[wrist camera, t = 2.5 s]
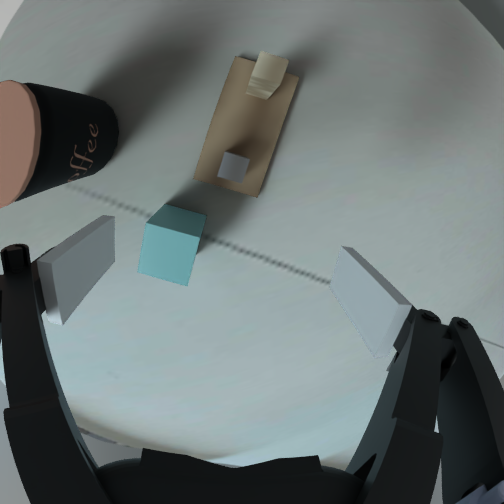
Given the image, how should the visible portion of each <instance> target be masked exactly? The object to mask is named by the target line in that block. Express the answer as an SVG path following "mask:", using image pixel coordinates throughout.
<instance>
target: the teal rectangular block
mask: <svg viewBox="0 0 504 504" xmlns="http://www.w3.org/2000/svg"><path fill="white" fill-rule="evenodd" d="M206 217H207V215H203V214H200V213H196V212H192V211H189V210H185V209H182V208H178V207H174V206H171V205H167V204H164V205H163V206H162V207H161V208H160V209H159V210H158V211H157V212H156V213H155V214H154V215H153V216H152V217H151V218H150V219H149V220H148V221H147V222H146V226H145V231H144V236H143V242H142V247H141V253H140V259H139V265H138V272H139V273H142V274H145V275H149V276H152V277H156V278H159V279H163V280H166V281H170V282H173V283H177V284H181V285H184V286H188V282H189V278H190V275H191V271H192V267H193V264H194V260H195V256H196V253H197V249H198V245H199V242H200V238H201V234H202V231H203V227H204V224H205V220H206Z"/></svg>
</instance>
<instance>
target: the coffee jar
mask: <svg viewBox="0 0 504 504" xmlns="http://www.w3.org/2000/svg"><path fill="white" fill-rule="evenodd" d="M118 134H119V131H118V122H117V118H116V116H115V114H114V112H113V109H112V108H111V107H110V106H109V105H108V104H107V103H106V102H105V101H103V100H100V99H97V98H95V97H91V96H87V95H84V94H80V93H76V92H71V91H67V90H63V89H58V88H54V87H49V86H44V85H39V84H34V83H23V84H22V83H19V82H16V81H13V80H7V81H3V82H0V208H2V207H4V206H7V205H9V204H11V203H13V202H16V201H19V200H21V199H24V198H27V197H29V196H32V195H34V194H37V193H40V192H42V191H45V190H48V189H50V188H53V187H56V186H59V185H62V184H65V183H68V182H71V181H74V180H77V179H80V178H83V177H87V176H90V175H93V174H95V173H96V172H98V171H99V170H101V169H102V168H104V166H105V165H106V164H107V162H108V161H109V160H110V159H111V157H112V155H113V153H114V150H115V148H116V146H117V140H118Z"/></svg>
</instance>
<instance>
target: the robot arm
mask: <svg viewBox="0 0 504 504" xmlns="http://www.w3.org/2000/svg"><path fill="white" fill-rule="evenodd" d="M0 254H1V260H2V265H3V271H4V275H0V343H1V339H2V351H3V364H4V373H5V381H6V388H7V395H8V400H9V407H10V408H6V409H4V421H5V426H6V430H7V434H8V439H9V442H10V446H11V450H12V453H13V457H14V460H15V463H16V466H17V469H18V472H19V475H20V478H21V481H22V483H23V486H24V489H25V491H26V494H27V496H28V498H29V501H30V503H31V504H430V502H431V498H432V495H433V491H434V487H435V483H436V479H437V474H438V469H439V465H440V459H441V468H442V497H443V498H442V499H443V504H504V390H503V388H502V385H501V383H500V381H499V378H498V376H497V374H496V372H495V369H494V367H493V365H492V363H491V361H490V359H489V357H488V355H487V353H486V351H485V349H484V347H483V345H482V343H481V341H480V339H479V337H478V335H477V333H476V332H475V330H474V328H473V326H472V325H471V324H470V323H469V322H468V321H467V320H466V319H464V318H459V317H453V318H452V320H451V322H450V324H449V326H447V325H443V324H441V320H440V319H439V317H438V316H437V315H435V314H434V313H433V312H431V311H427V310H423V309H419V310H417V309H416V308H415V307H414V306H413V305H412V304H411V303H410V302H409V301H408V300H407V299H406V298H405V297H404V296H403V295H402V294H401V293H400V292H399V291H398V290H397V289H396V288H395V287H394V286H393V285H392V284H391V283H390V282H389V281H388V280H387V279H386V278H384V277H383V276H382V275H381V274H380V273H379V272H378V271H377V270H376V269H375V268H374V267H373V266H372V265H371V264H370V263H369V262H367V261H366V260H365V259H364V258H363V257H362V256H361V255H360V254H359V253H358V252H357V251H355V250H354V249H353V248H350V247H344V246H341V249H340V253H339V256H338V260H337V263H336V267H335V270H334V274H333V277H332V280H331V284H330V287H329V288H330V289H331V291H332V292H333V294H334V295H335V297H336V298H337V300H338V301H339V303H340V305H341V306H342V308H343V309H344V311H345V312H346V314H347V315H348V317H349V318H350V320H351V322H352V323H353V325H354V326H355V328H356V329H357V331H358V333H359V334H360V336H361V337H362V339H363V341H364V342H365V344H366V346H367V347H368V349H369V350H370V352H371V354H372V355H373V357H374V358H379V357H388V355H389V353H390V351H391V349H392V347H393V346H394V348H395V349H396V350H397V352H396V354H395V356H394V358H393V360H392V361H391V363H390V365H389V367H388V368H387V370H386V371H389V373H388V376H387V379H386V381H385V384H384V387H383V390H382V392H381V395H380V398H379V400H378V403H377V405H376V408H375V410H374V413H373V415H372V417H371V420H370V422H369V424H368V427H367V429H366V431H365V433H364V435H363V437H362V440H361V442H360V444H359V446H358V448H357V450H356V452H355V454H354V456H353V458H352V460H351V462H350V463H349V465H348V467H347V468H346V470H345V471H343V470H340V469H336V468H333V467H327V466H321V464H320V460H319V457H318V455H315V456H306V457H294V458H278V459H274V460H270V461H266V462H262V463H258V464H254V465H249V466H244V467H239V468H229V467H225V466H221V465H218V464H214V463H211V462H207V461H204V460H201V459H197V458H194V457H191V456H188V455H182V454H175V453H168V452H162V451H156V450H151V449H146V448H143V451H142V456H141V458H134V459H124V460H119V461H115V462H112V463H109V464H106V465H104V466H101V467H98V465H97V464H96V462H95V461H94V459H93V457H92V455H91V453H90V451H89V450H88V448H87V446H86V444H85V442H84V440H83V438H82V436H81V433H80V431H79V429H78V427H77V425H76V422H75V420H74V418H73V416H72V413H71V411H70V408H69V406H68V403H67V401H66V398H65V396H64V393H63V390H62V387H61V384H60V382H59V379H58V376H57V373H56V369H55V366H54V363H53V360H52V356H51V353H50V349H49V345H48V341H47V337H46V333H45V329H44V325H43V320H42V316H41V314H42V313H43V312H44V311H45V310H46V313H47V317H48V321H49V322H52V323H55V324H59V325H62V326H63V325H64V323H65V322H66V321H67V319H68V318H69V317H70V315H71V314H72V313H73V311H74V310H75V309H76V308H77V306H78V305H79V304H80V302H81V301H82V300H83V299H84V297H85V296H86V295H87V294H88V293H89V291H90V290H91V289H92V288H93V286H94V285H95V284H96V283H97V282H98V280H99V279H100V278H101V277H102V276H103V275H104V273H105V272H106V271H107V270H108V269H109V268H110V266H111V265H112V264H113V263H114V262H115V216H107V215H102V216H101V217H99V218H98V219H96V220H95V221H93V222H91V223H90V224H88V225H87V226H85V227H84V228H82V229H81V230H79V231H78V232H76V233H75V234H73V235H72V236H70V237H69V238H67V239H66V240H64V241H63V242H62V243H60V244H59V245H57V246H56V247H53V248H51V249H49V250H48V251H47V252H45V253H44V254H42V255H41V257H38V258H37V259H36V260H34V261H33V262H32V263H31V261H30V254H29V247H28V246H27V245H25V244H13V245H9V246H7V247H5V248H4V249H2V250H1V252H0ZM436 416H437V421H438V429H439V433H437V432H434V429H435V423H436Z"/></svg>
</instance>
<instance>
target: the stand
mask: <svg viewBox="0 0 504 504" xmlns="http://www.w3.org/2000/svg"><path fill="white" fill-rule="evenodd" d="M288 62H289V60H287V59H284V58H281V57H278V56H275V55H272V54H269V53H266V52H263V51H261V52H260V54H259V57H258V59H257V62H254V61H250V60H247V59H244V58H240V57H236V56H235V58H234V61H233V63H232V66H231V68H230V71H229V73H228V76H227V79H226V81H225V84H224V87H223V89H222V92H221V95H220V98H219V100H218V103H217V106H216V109H215V112H214V115H213V118H212V121H211V124H210V127H209V130H208V133H207V136H206V139H205V142H204V145H203V148H202V151H201V155H200V158H199V161H198V165H197V168H196V171H195V175H194V178H193V179H195V180H198V181H202V182H206V183H209V184H213V185H216V186H220V187H223V188H227V189H230V190H233V191H237V192H240V193H243V194H247V195H250V196H253V197H256V198H257V197H258V194H259V191H260V188H261V185H262V183H263V180H264V177H265V174H266V171H267V168H268V165H269V162H270V159H271V156H272V154H273V151H274V148H275V145H276V142H277V139H278V136H279V133H280V131H281V128H282V125H283V122H284V119H285V116H286V114H287V111H288V108H289V105H290V102H291V99H292V97H293V94H294V91H295V88H296V85H297V83H298V80H299V77H297V76H295V75H292V74H290V73H287V72H285V70H286V68H287V65H288Z"/></svg>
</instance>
